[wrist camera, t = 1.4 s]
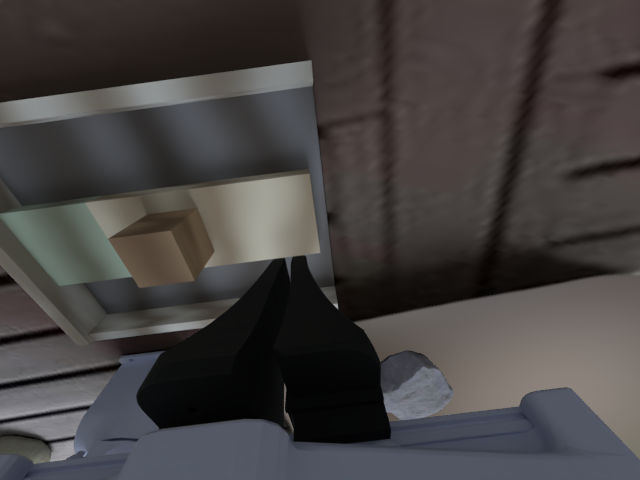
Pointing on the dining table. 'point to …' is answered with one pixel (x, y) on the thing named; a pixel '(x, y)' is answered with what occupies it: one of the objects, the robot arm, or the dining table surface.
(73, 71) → the dining table surface
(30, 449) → the sea urchin shell
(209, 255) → the walnut cube
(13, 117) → the box
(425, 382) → the stone block
